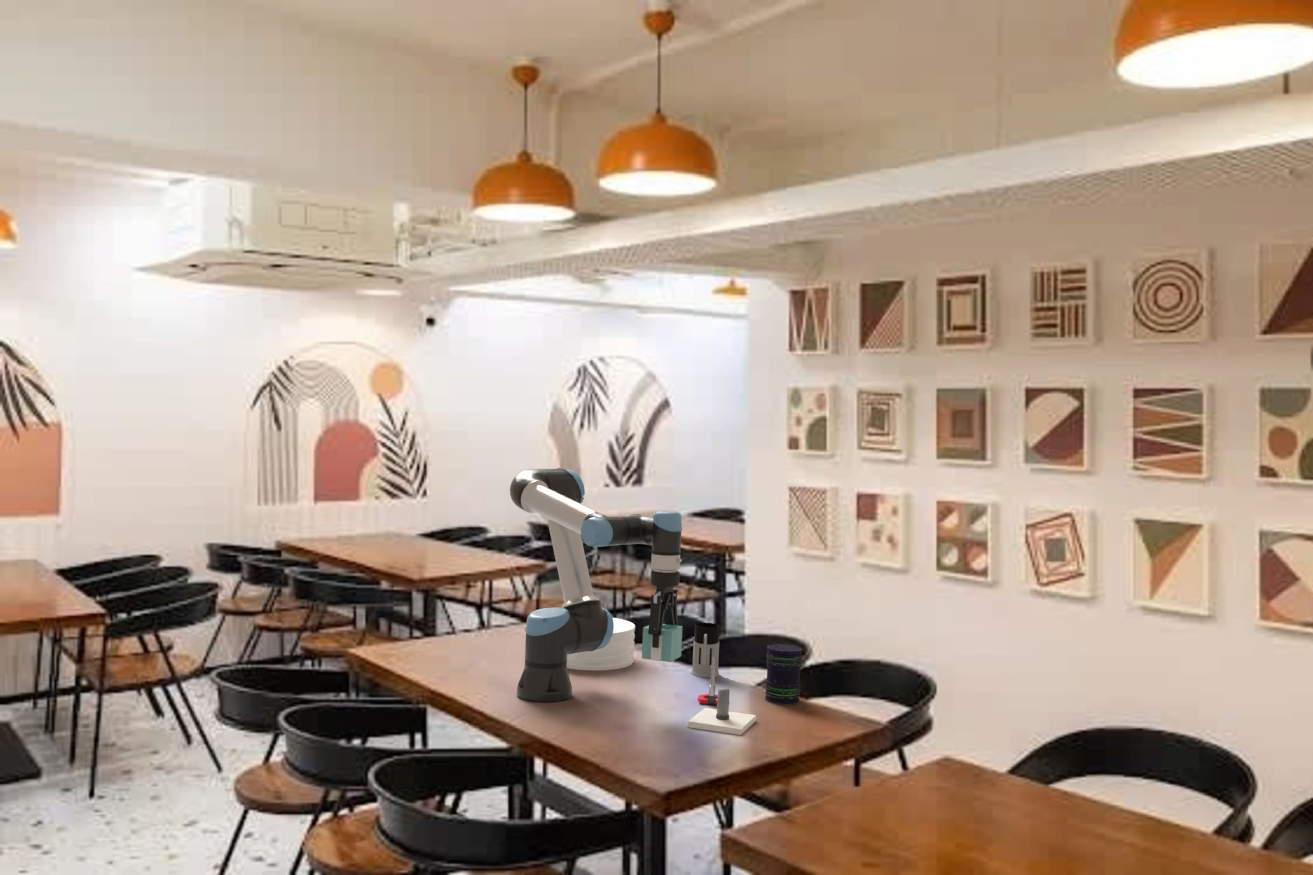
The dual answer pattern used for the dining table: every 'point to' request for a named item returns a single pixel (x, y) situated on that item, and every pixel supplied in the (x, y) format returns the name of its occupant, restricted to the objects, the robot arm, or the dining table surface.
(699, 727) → the post stand
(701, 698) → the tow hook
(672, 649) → the sleeve
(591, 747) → the dining table surface
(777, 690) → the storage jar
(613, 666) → the plate stack
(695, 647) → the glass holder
